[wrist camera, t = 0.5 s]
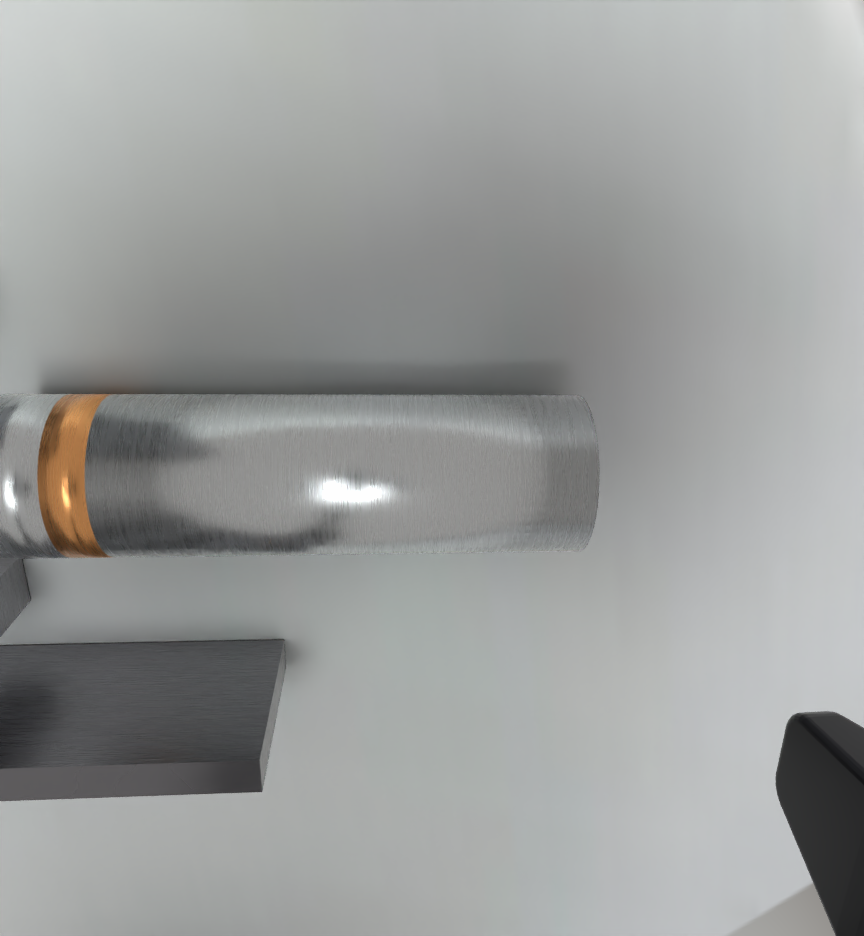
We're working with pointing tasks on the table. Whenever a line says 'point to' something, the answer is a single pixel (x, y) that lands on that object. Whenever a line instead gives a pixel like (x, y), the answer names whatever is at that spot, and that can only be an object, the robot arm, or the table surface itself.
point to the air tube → (294, 474)
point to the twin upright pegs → (12, 591)
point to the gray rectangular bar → (137, 718)
